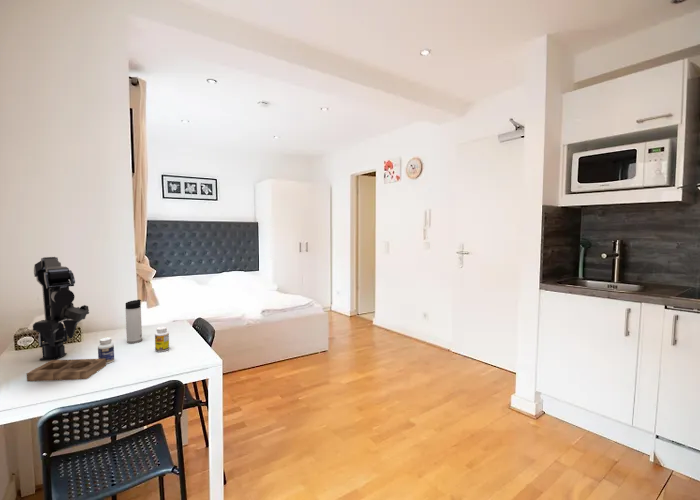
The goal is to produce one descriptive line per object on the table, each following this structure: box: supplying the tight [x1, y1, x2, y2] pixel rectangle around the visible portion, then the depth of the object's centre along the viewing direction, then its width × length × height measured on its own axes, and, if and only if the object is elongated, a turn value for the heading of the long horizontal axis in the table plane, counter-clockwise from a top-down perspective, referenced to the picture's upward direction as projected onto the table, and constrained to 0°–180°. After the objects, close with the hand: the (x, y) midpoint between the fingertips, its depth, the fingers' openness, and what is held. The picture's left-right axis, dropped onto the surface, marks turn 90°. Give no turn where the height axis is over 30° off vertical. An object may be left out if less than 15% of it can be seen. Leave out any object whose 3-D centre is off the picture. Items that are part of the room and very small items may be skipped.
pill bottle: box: [97, 336, 115, 365], centre depth 142 cm, size 5×5×10 cm
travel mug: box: [124, 299, 143, 344], centre depth 166 cm, size 6×7×20 cm
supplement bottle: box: [154, 326, 170, 353], centre depth 155 cm, size 6×6×10 cm
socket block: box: [26, 358, 107, 382], centre depth 131 cm, size 20×12×3 cm, turn 96°
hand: (62, 342), depth 130 cm, fingers open, 9 cm apart
